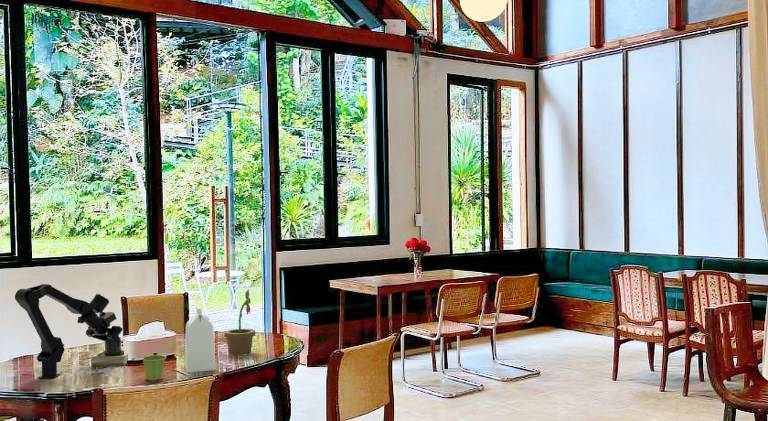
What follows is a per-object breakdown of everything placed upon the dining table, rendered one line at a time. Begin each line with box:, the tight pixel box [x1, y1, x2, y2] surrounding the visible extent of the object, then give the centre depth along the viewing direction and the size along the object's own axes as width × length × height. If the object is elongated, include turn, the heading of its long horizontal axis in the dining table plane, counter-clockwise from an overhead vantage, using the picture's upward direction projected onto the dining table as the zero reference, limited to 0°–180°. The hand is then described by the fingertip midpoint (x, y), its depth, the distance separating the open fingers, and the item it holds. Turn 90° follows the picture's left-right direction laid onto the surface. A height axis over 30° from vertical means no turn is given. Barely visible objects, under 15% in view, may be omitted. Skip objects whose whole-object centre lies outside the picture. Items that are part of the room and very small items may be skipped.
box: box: [90, 349, 128, 367], centre depth 324 cm, size 14×14×4 cm
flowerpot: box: [224, 289, 256, 356], centre depth 340 cm, size 14×14×30 cm
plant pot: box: [141, 354, 167, 382], centre depth 292 cm, size 9×9×9 cm
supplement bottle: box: [104, 336, 122, 356], centre depth 324 cm, size 7×7×12 cm
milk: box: [184, 306, 216, 373], centre depth 310 cm, size 12×12×26 cm
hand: (115, 342), depth 325 cm, fingers closed on supplement bottle, 6 cm apart
